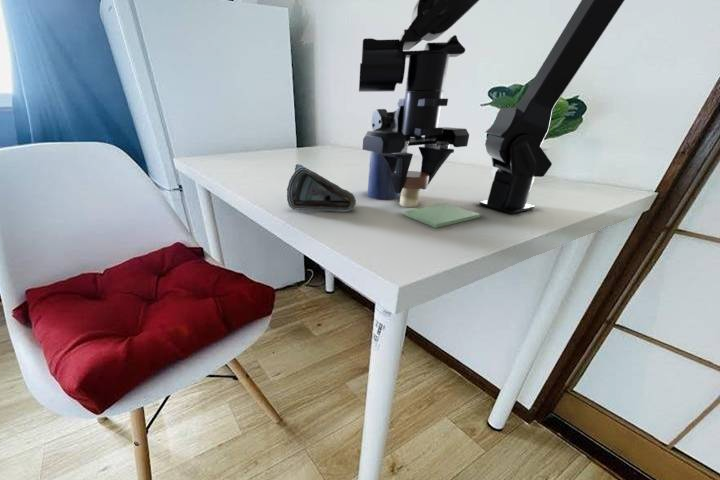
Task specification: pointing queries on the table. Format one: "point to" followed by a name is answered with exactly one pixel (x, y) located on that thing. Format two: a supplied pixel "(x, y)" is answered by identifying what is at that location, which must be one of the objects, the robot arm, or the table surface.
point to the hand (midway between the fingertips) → (410, 190)
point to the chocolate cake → (317, 193)
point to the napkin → (441, 215)
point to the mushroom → (413, 188)
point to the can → (380, 178)
